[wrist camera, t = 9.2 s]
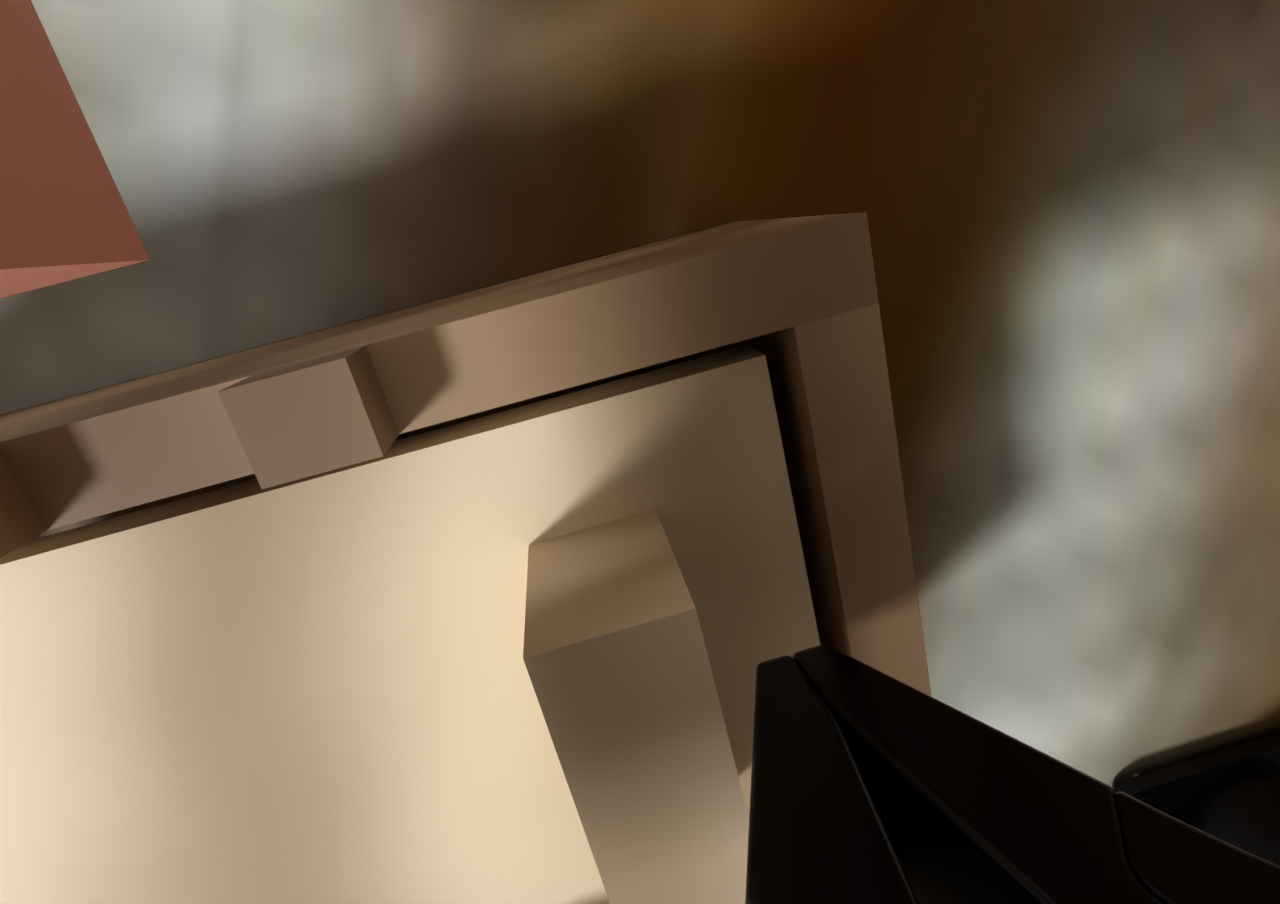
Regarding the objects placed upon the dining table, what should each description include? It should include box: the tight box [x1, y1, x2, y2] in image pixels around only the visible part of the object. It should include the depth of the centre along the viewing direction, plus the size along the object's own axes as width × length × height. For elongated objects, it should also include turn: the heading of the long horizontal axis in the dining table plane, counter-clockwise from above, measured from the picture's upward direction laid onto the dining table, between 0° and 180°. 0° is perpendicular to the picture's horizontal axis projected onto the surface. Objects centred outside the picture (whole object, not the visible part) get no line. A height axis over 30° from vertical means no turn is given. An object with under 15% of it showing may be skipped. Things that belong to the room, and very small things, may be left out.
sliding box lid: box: [0, 345, 820, 904], centre depth 8 cm, size 14×7×3 cm, turn 104°
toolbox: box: [0, 212, 931, 696], centre depth 11 cm, size 16×10×6 cm, turn 104°
